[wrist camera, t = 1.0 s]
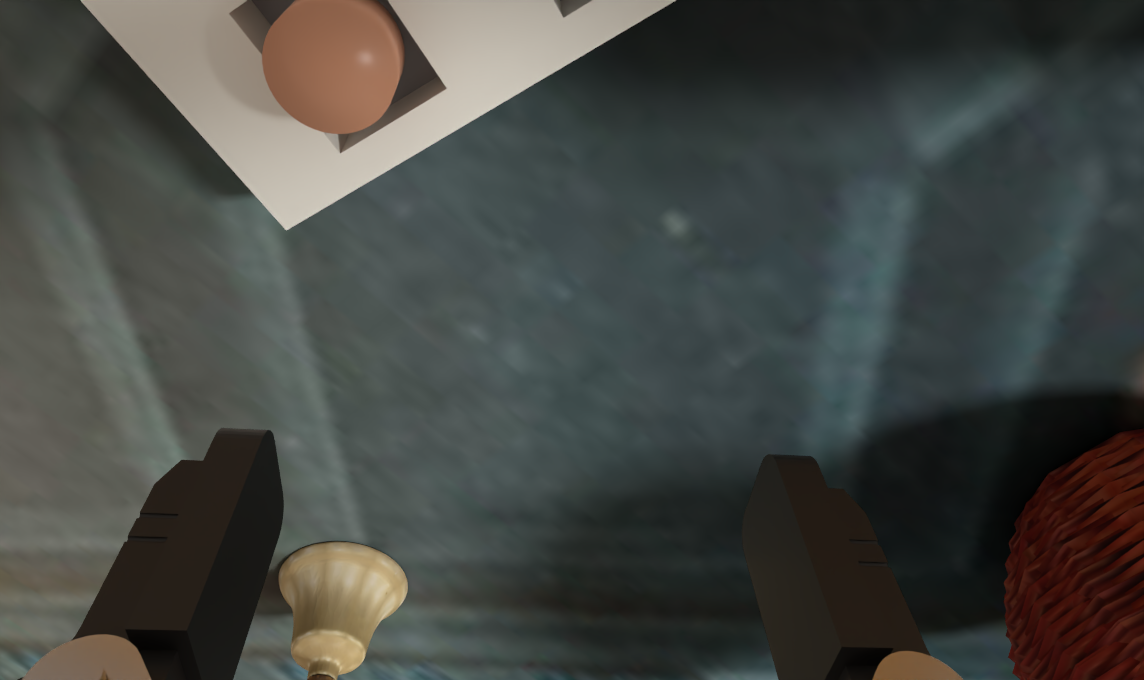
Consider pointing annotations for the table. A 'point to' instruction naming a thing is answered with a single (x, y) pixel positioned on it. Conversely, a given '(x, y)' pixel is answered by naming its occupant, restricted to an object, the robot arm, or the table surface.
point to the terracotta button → (334, 63)
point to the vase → (1081, 569)
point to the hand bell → (338, 603)
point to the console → (418, 108)
